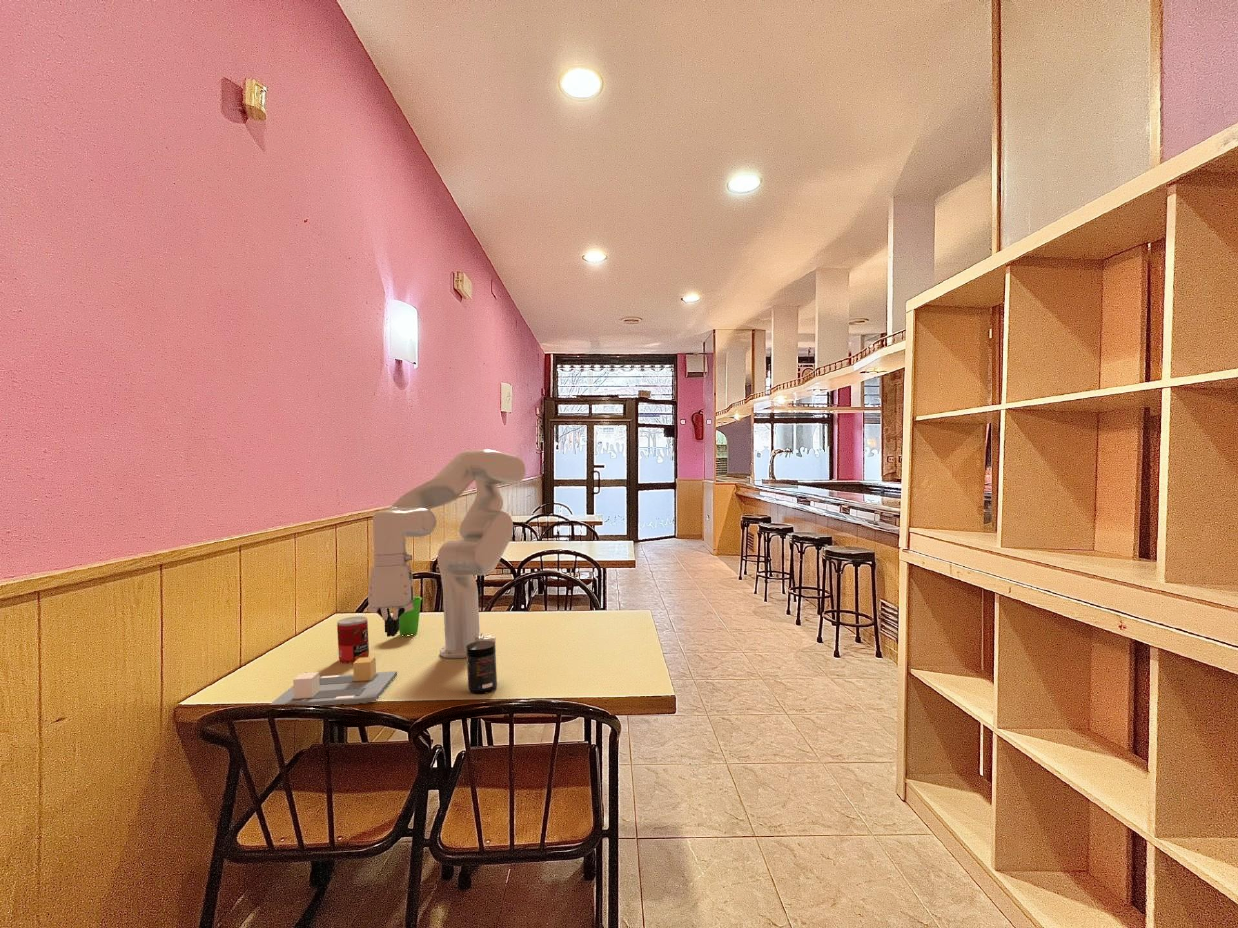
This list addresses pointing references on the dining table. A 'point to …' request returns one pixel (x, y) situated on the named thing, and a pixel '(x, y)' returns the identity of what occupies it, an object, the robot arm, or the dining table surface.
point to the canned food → (352, 639)
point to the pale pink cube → (306, 685)
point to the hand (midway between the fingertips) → (392, 634)
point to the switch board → (342, 690)
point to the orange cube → (364, 668)
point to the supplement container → (481, 667)
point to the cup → (410, 619)
